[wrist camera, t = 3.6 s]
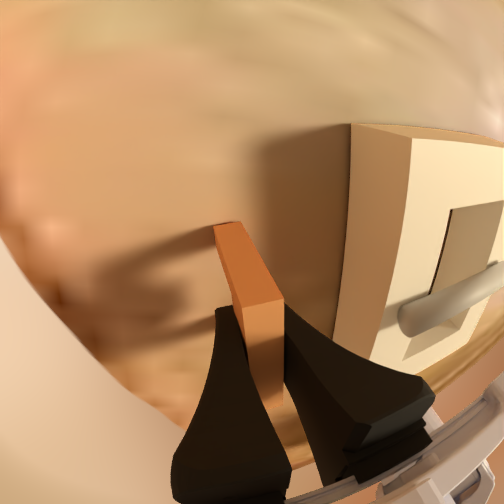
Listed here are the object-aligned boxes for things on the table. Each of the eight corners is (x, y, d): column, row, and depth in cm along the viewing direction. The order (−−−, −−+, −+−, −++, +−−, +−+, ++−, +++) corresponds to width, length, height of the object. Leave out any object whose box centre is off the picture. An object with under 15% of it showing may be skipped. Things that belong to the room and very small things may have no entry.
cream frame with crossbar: (440, 315, 22) (477, 354, 17) (328, 361, 20) (363, 421, 15) (484, 136, 14) (547, 161, 9) (351, 123, 12) (445, 148, 7)
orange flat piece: (250, 322, 16) (283, 405, 11) (229, 327, 15) (255, 412, 11) (240, 221, 13) (284, 298, 8) (213, 226, 12) (241, 308, 8)
